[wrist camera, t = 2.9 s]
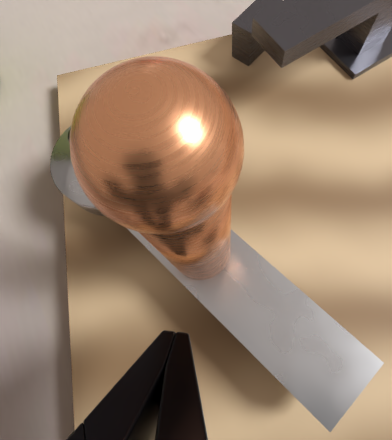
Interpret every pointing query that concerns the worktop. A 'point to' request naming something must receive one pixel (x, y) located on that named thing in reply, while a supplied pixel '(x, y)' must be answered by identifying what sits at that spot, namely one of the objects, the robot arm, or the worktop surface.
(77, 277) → the board
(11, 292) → the worktop surface
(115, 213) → the latch lever
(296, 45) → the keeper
